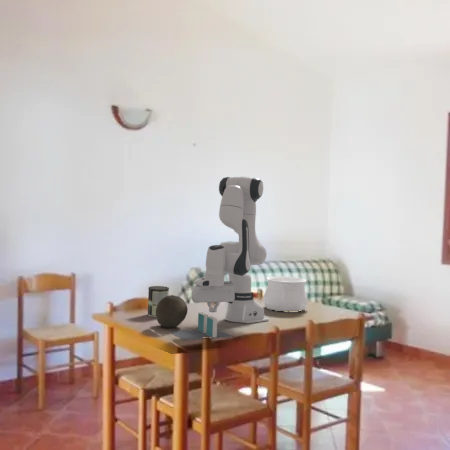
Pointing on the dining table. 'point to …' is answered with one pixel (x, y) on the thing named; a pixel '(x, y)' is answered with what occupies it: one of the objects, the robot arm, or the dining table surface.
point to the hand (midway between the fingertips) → (212, 311)
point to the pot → (285, 294)
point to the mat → (197, 334)
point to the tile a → (202, 322)
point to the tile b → (211, 326)
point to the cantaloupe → (171, 311)
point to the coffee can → (156, 298)
